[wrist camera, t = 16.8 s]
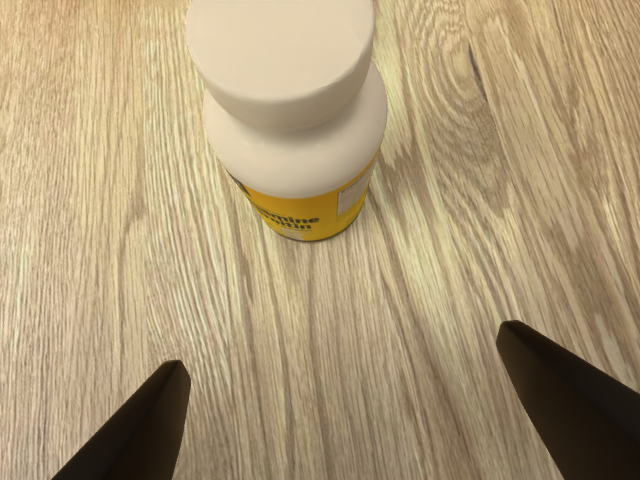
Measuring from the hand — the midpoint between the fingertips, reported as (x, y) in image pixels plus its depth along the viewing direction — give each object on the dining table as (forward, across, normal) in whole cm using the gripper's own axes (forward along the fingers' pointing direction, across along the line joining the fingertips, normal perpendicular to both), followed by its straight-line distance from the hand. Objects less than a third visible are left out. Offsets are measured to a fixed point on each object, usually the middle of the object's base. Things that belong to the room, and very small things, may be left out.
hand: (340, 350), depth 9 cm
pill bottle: (+12, +1, 0) cm, 12 cm away
